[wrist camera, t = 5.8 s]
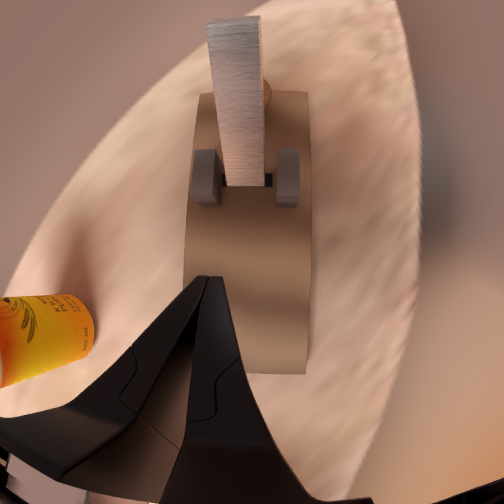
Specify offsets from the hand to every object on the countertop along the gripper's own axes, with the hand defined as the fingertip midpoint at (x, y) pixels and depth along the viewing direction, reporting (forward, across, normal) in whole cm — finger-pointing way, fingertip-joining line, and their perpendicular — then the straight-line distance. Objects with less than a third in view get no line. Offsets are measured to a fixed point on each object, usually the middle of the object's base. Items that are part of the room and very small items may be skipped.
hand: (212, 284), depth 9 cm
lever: (+12, 0, +2) cm, 12 cm away
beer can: (+6, +16, +13) cm, 21 cm away
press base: (+12, 0, +6) cm, 13 cm away
